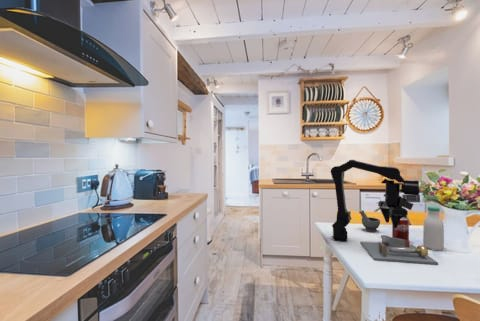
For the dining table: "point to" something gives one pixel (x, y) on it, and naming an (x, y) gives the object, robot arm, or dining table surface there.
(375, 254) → the flat gray base plate
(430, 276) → the dining table surface
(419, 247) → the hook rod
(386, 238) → the ball-ended metal rod
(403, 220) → the soda can
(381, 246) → the eye staple
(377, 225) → the mortar and pestle
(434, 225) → the milk bottle
